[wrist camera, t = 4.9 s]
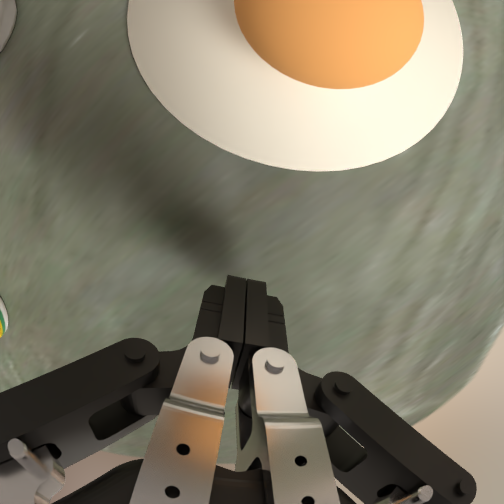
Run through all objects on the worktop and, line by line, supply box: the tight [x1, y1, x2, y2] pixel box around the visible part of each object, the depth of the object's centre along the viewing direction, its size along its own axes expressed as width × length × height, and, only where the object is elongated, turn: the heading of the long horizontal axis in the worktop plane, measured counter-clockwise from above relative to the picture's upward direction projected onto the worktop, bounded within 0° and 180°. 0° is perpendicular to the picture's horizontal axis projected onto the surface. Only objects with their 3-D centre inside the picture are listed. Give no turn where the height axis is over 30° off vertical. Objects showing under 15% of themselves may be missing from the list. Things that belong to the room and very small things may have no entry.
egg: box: [234, 0, 424, 89], centre depth 6 cm, size 5×5×5 cm
